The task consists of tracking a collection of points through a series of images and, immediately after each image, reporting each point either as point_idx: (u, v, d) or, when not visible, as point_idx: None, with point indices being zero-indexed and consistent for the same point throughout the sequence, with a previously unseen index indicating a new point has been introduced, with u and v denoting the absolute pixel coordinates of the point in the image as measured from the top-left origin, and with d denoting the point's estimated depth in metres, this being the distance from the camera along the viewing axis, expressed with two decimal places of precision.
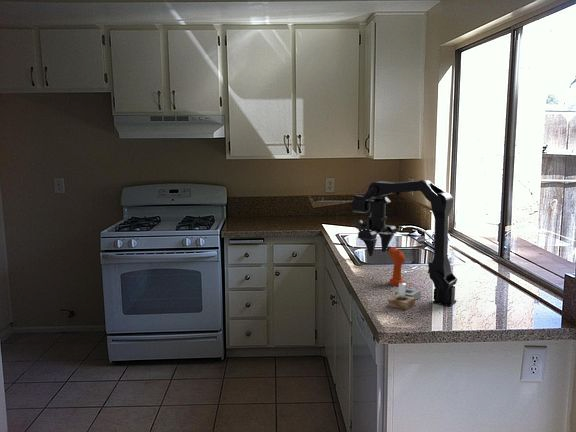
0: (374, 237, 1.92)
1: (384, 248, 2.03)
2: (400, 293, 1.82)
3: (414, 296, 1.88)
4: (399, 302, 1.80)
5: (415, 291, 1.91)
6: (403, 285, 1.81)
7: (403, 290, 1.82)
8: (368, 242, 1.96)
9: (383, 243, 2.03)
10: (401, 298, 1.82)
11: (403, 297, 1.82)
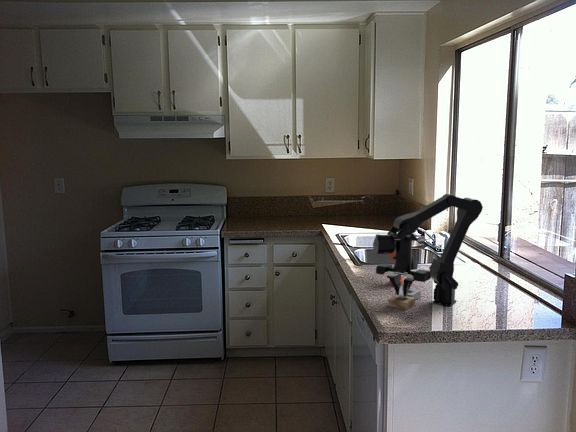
0: (380, 272, 1.84)
1: None
2: (400, 293, 1.82)
3: (414, 296, 1.88)
4: (399, 302, 1.80)
5: (415, 291, 1.91)
6: (403, 285, 1.81)
7: (403, 290, 1.82)
8: None
9: None
10: (401, 298, 1.82)
11: (403, 297, 1.82)
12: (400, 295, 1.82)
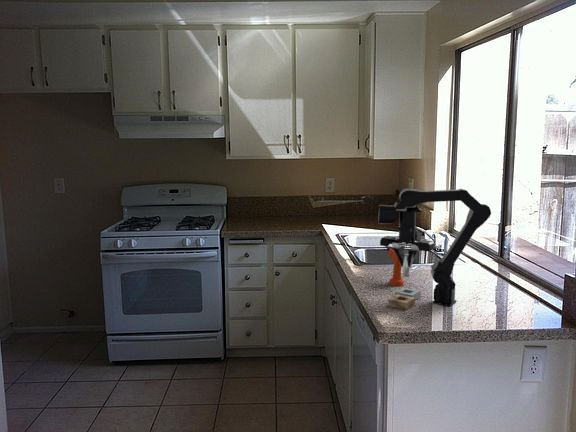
0: (385, 244, 1.87)
1: None
2: (404, 264, 1.85)
3: (414, 296, 1.88)
4: (399, 302, 1.80)
5: (415, 291, 1.91)
6: (407, 256, 1.85)
7: (407, 261, 1.85)
8: None
9: None
10: (405, 269, 1.85)
11: (407, 268, 1.85)
12: (404, 266, 1.85)
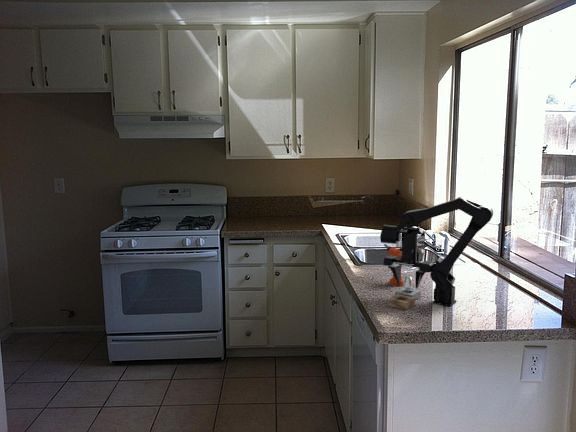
0: (387, 264, 1.92)
1: None
2: (406, 286, 1.90)
3: (414, 296, 1.88)
4: (399, 302, 1.80)
5: (415, 291, 1.91)
6: (409, 278, 1.90)
7: (409, 283, 1.90)
8: None
9: None
10: (407, 291, 1.90)
11: (409, 290, 1.90)
12: (406, 288, 1.90)
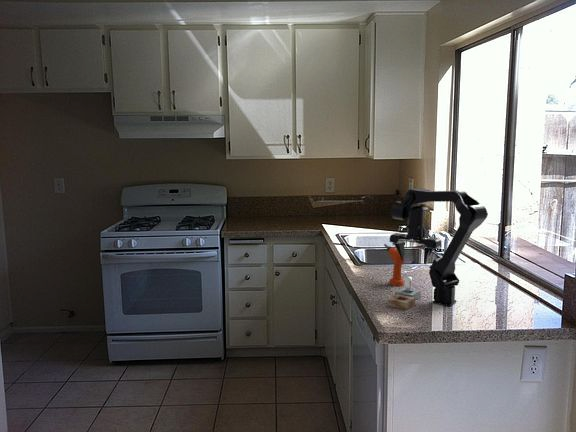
0: (394, 241, 1.97)
1: None
2: (406, 286, 1.90)
3: (414, 296, 1.88)
4: (399, 302, 1.80)
5: (415, 291, 1.91)
6: (409, 278, 1.90)
7: (409, 283, 1.90)
8: None
9: None
10: (407, 291, 1.90)
11: (409, 290, 1.90)
12: (406, 288, 1.90)
